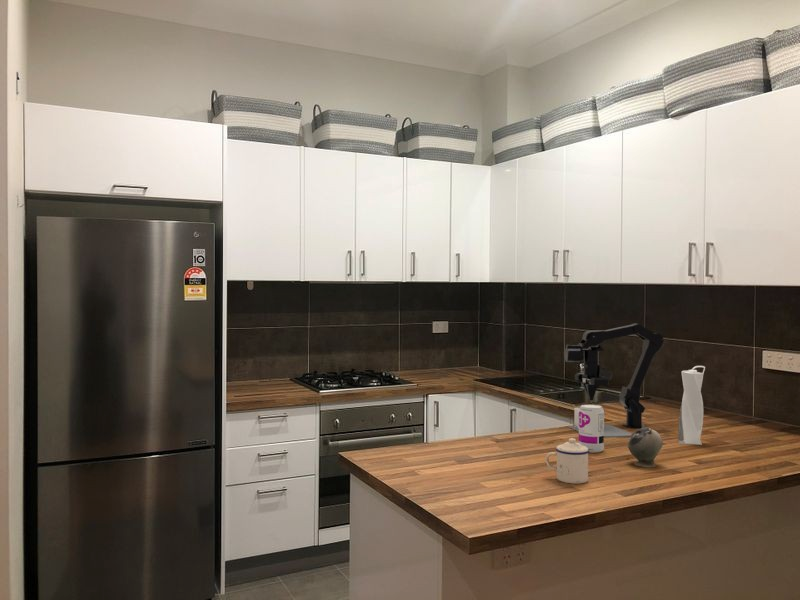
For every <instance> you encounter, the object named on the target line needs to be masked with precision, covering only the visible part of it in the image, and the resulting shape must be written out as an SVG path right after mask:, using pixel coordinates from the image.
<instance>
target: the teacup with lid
mask: <svg viewBox="0 0 800 600" xmlns="http://www.w3.org/2000/svg"><path fill="white" fill-rule="evenodd" d="M555 451H556V452H555ZM555 451H554V452H553V451H551V452H548V453H547V454H546V456H545V462H546V465H547V466H548V468H549V469H551V470H554V471H556V479H557V481H559V482H561V483H566V484H576V485H577V484H584V483H587V482H589V453H590V452H589V450H588V448H587V447H585V446H582V445H581V444H579V442H577V440H576V438H574V437H572V438H568V441H566V442H564V443H561V444H558V445H557V446H556V448H555ZM550 456H556V466H554V465H552V464H551V463H550V461H549V457H550Z"/></svg>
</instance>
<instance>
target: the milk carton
mask: <svg viewBox="0 0 800 600" xmlns="http://www.w3.org/2000/svg"><path fill="white" fill-rule="evenodd" d="M579 409H580V407H574V417H573V418H574V426H576V427H577V428H578V429H579Z"/></svg>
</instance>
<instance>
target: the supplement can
mask: <svg viewBox="0 0 800 600" xmlns="http://www.w3.org/2000/svg"><path fill="white" fill-rule="evenodd" d="M579 408H580V409H579V432H578V443H579V444H581V445H582V446H585V447H587V448H588V450H589V452H588V453H593V454H595V453H596V454H597V453H602V452H603V451H604V450H605V437H604V425H605V411H604V408H603V406H601V405H597V404H582V405H580V407H579Z"/></svg>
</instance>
